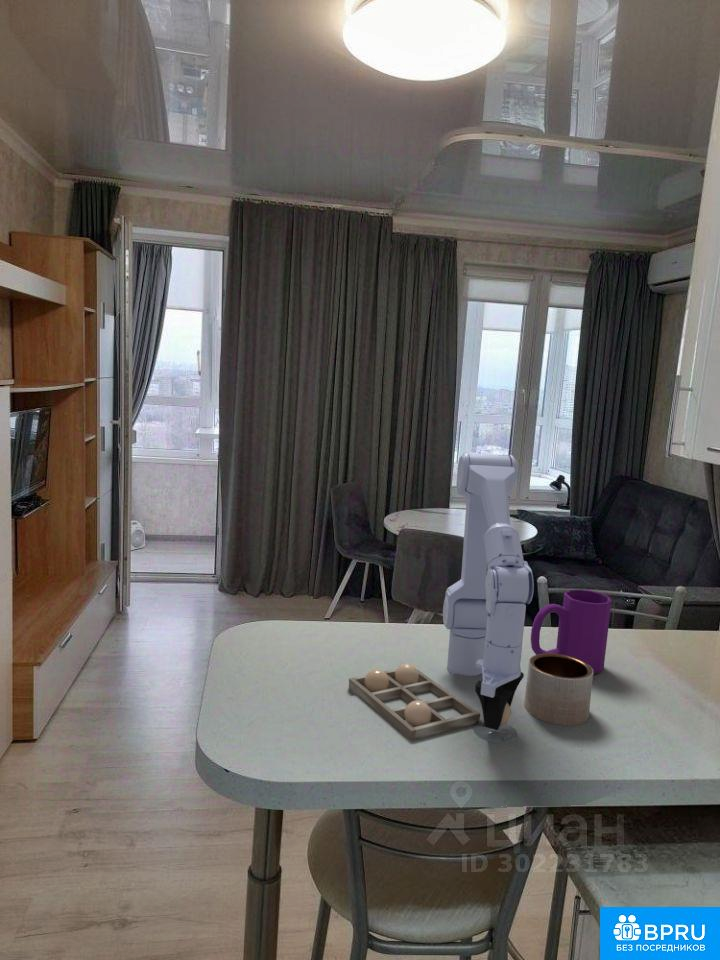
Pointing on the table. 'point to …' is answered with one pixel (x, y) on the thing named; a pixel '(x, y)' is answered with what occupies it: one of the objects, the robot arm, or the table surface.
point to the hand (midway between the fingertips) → (496, 720)
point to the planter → (558, 689)
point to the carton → (408, 695)
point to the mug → (578, 627)
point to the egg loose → (506, 715)
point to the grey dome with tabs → (496, 733)
